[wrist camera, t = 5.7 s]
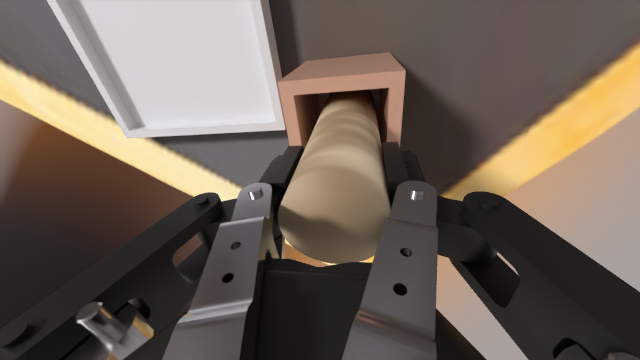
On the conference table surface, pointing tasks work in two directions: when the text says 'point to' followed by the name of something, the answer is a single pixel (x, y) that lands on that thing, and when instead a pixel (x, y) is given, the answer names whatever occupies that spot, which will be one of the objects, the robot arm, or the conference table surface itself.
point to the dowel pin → (339, 184)
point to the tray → (179, 63)
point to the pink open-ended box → (343, 75)
